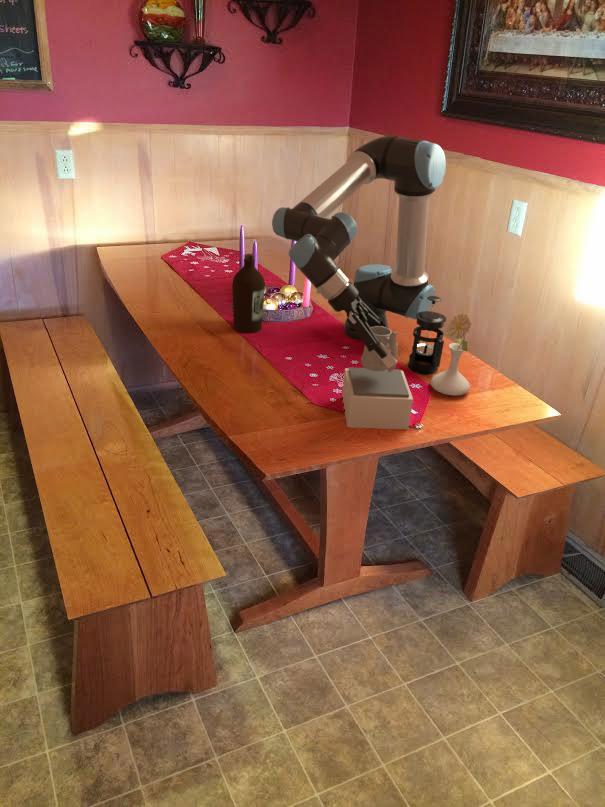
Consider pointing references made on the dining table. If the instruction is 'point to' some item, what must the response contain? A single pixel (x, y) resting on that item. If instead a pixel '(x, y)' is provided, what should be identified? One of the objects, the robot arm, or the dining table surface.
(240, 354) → the dining table surface
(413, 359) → the french press
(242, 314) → the olive oil
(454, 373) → the flower in vase
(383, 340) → the mug
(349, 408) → the stand
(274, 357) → the dining table surface
